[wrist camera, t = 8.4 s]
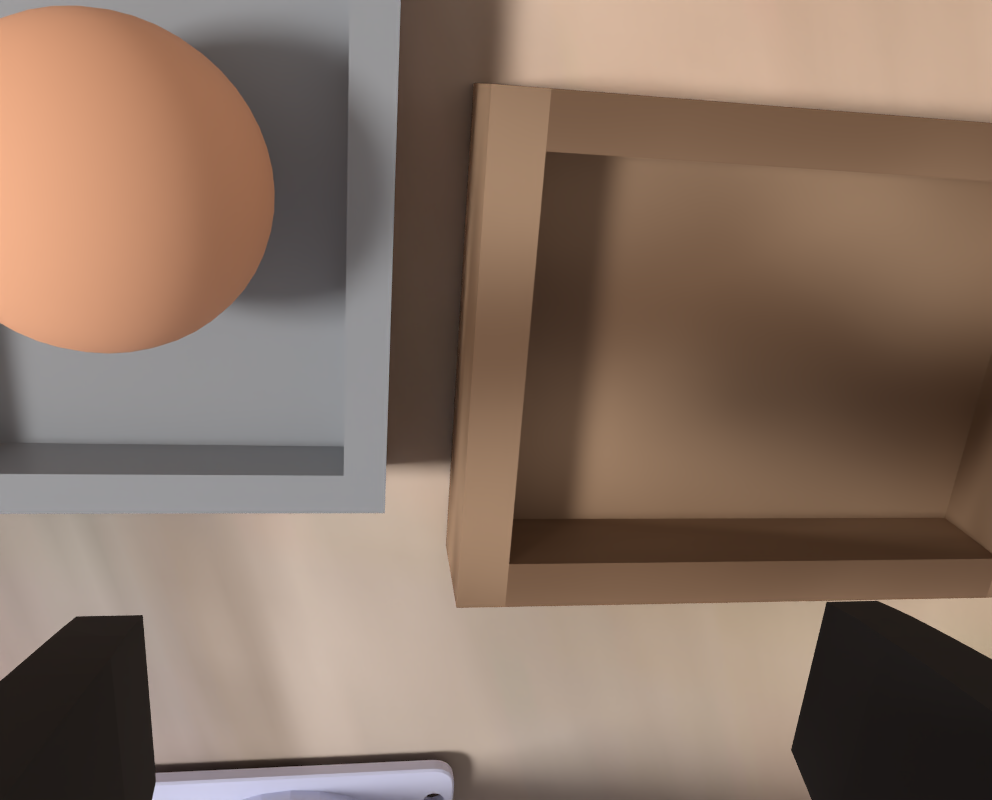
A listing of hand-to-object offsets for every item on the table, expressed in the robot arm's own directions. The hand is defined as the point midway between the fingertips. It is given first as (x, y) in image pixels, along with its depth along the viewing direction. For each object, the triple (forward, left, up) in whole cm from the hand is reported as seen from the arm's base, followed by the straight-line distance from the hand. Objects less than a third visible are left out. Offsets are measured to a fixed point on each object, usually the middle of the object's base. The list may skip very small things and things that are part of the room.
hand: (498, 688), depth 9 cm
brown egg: (+4, +5, -9) cm, 11 cm away
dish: (+1, -7, -10) cm, 12 cm away
